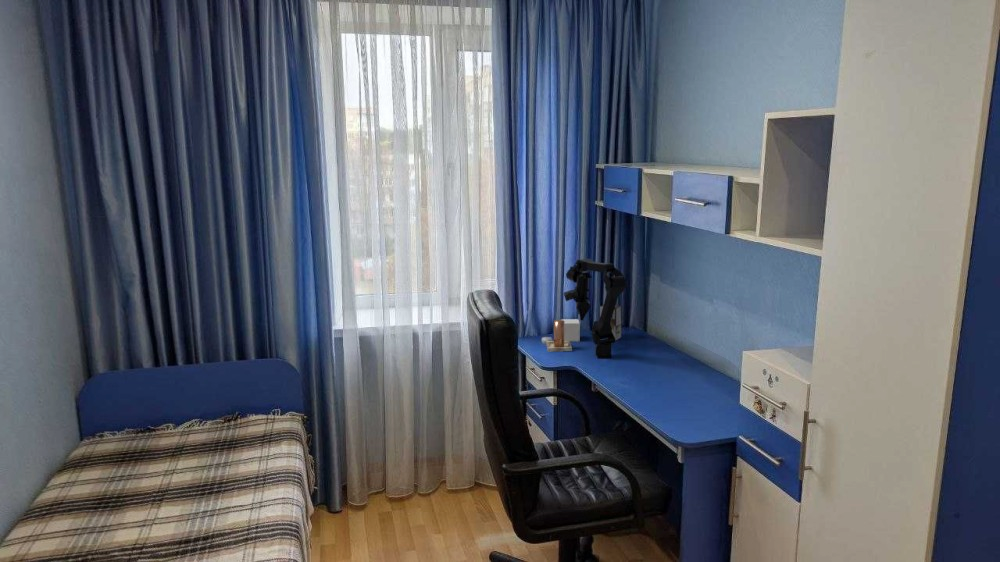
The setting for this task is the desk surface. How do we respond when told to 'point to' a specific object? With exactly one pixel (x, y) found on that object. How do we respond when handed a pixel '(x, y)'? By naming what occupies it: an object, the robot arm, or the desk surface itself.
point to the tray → (558, 349)
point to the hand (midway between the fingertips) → (580, 317)
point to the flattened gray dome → (546, 339)
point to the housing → (571, 330)
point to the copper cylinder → (559, 333)
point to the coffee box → (615, 321)
